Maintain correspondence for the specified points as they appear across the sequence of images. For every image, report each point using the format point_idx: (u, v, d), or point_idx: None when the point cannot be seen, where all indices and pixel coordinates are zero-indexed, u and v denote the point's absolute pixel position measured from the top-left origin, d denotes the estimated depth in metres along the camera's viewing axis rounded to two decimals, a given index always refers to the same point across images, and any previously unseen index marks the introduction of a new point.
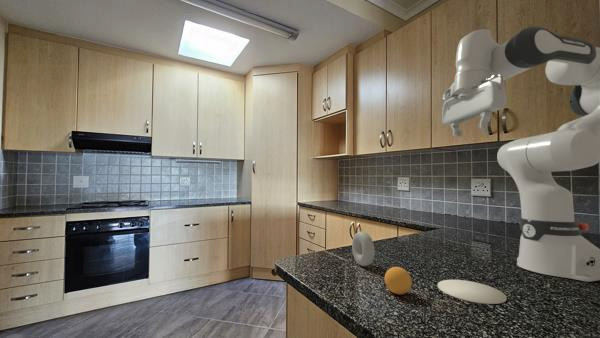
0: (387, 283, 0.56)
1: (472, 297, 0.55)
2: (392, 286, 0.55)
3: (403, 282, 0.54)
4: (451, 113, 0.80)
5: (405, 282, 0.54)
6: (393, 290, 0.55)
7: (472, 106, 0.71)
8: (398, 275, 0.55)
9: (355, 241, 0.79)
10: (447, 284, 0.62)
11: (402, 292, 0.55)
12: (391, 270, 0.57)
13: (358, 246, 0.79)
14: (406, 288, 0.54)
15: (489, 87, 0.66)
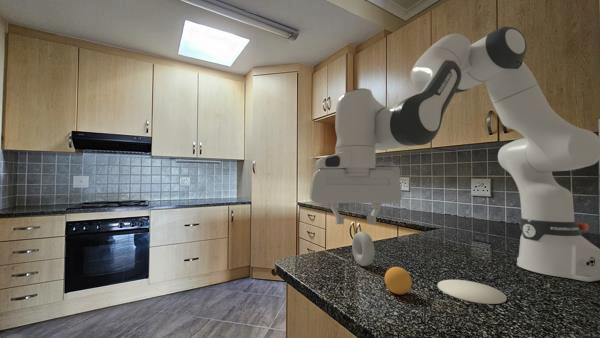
0: (387, 283, 0.56)
1: (472, 297, 0.55)
2: (392, 286, 0.55)
3: (403, 282, 0.54)
4: (333, 191, 0.55)
5: (405, 282, 0.54)
6: (393, 290, 0.55)
7: (371, 193, 0.56)
8: (398, 275, 0.55)
9: (355, 241, 0.79)
10: (447, 284, 0.62)
11: (402, 292, 0.55)
12: (391, 270, 0.57)
13: (358, 246, 0.79)
14: (406, 288, 0.54)
15: (396, 178, 0.57)
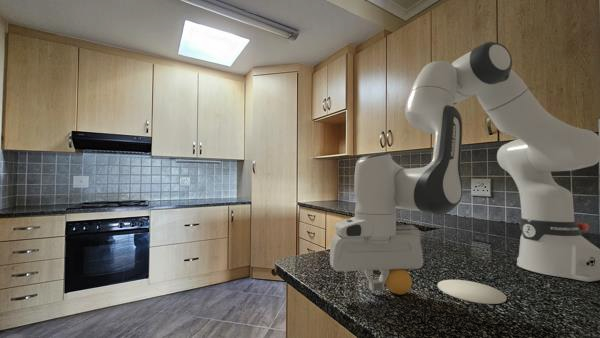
0: (387, 283, 0.56)
1: (472, 297, 0.55)
2: (392, 286, 0.55)
3: (403, 282, 0.54)
4: (355, 259, 0.55)
5: (405, 283, 0.54)
6: (393, 290, 0.55)
7: (393, 260, 0.55)
8: (398, 275, 0.55)
9: None
10: (447, 284, 0.62)
11: (402, 292, 0.55)
12: (391, 270, 0.57)
13: None
14: (406, 288, 0.54)
15: (417, 243, 0.56)
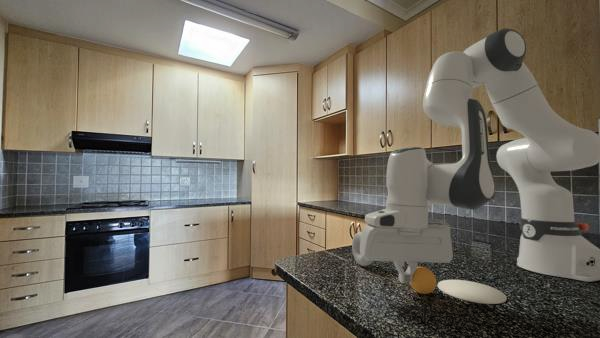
0: (416, 271, 0.57)
1: (472, 297, 0.55)
2: (419, 276, 0.56)
3: (431, 282, 0.55)
4: (386, 250, 0.55)
5: (432, 285, 0.55)
6: (416, 280, 0.56)
7: (423, 252, 0.56)
8: (431, 275, 0.56)
9: (355, 241, 0.79)
10: (447, 284, 0.62)
11: (421, 288, 0.55)
12: (426, 268, 0.57)
13: (358, 246, 0.79)
14: (428, 288, 0.55)
15: (447, 238, 0.57)
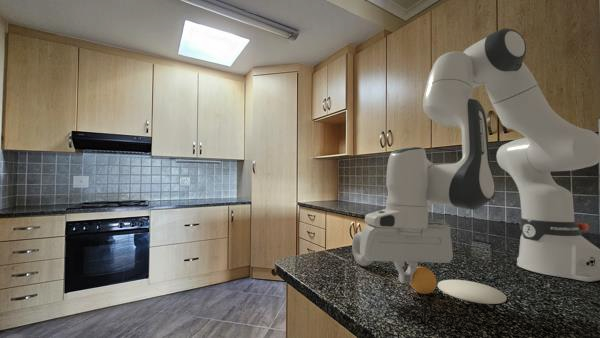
0: (416, 271, 0.57)
1: (472, 297, 0.55)
2: (419, 276, 0.56)
3: (431, 282, 0.55)
4: (386, 250, 0.55)
5: (432, 285, 0.55)
6: (416, 280, 0.56)
7: (423, 252, 0.56)
8: (431, 275, 0.56)
9: (355, 241, 0.79)
10: (447, 284, 0.62)
11: (421, 288, 0.55)
12: (427, 268, 0.57)
13: (358, 246, 0.79)
14: (428, 288, 0.55)
15: (447, 238, 0.57)
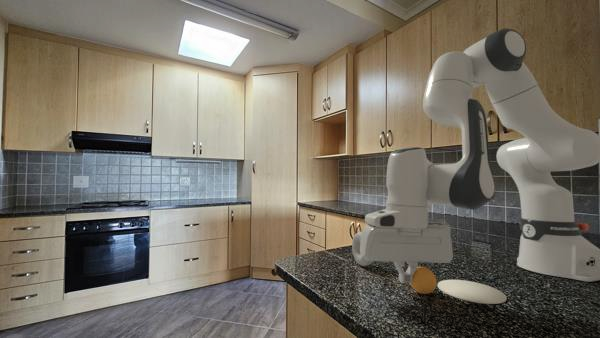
0: (416, 272, 0.57)
1: (472, 297, 0.55)
2: (419, 276, 0.56)
3: (431, 282, 0.55)
4: (386, 250, 0.55)
5: (432, 285, 0.55)
6: (416, 280, 0.56)
7: (423, 252, 0.56)
8: (431, 275, 0.56)
9: (355, 241, 0.79)
10: (447, 284, 0.62)
11: (421, 288, 0.55)
12: (427, 268, 0.57)
13: (358, 246, 0.79)
14: (428, 288, 0.55)
15: (447, 238, 0.57)
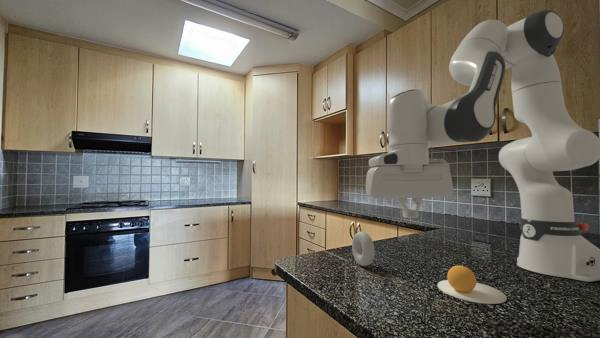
0: None
1: (472, 297, 0.55)
2: (473, 288, 0.57)
3: (468, 284, 0.56)
4: (391, 187, 0.58)
5: (467, 281, 0.56)
6: (475, 285, 0.57)
7: (426, 188, 0.59)
8: (462, 289, 0.56)
9: (355, 241, 0.79)
10: (447, 284, 0.62)
11: (475, 278, 0.56)
12: (457, 290, 0.58)
13: (358, 246, 0.79)
14: (471, 278, 0.56)
15: (447, 174, 0.60)
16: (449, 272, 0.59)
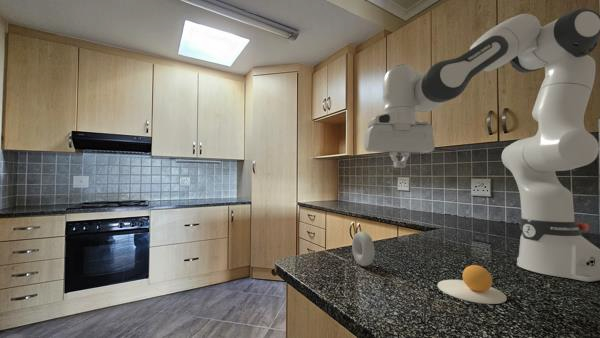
0: (472, 288, 0.58)
1: (472, 297, 0.55)
2: (478, 289, 0.57)
3: (485, 280, 0.56)
4: (384, 141, 0.74)
5: (487, 279, 0.56)
6: (481, 291, 0.57)
7: (412, 143, 0.74)
8: (476, 277, 0.57)
9: (355, 241, 0.79)
10: (447, 284, 0.62)
11: (489, 287, 0.57)
12: (467, 275, 0.58)
13: (358, 246, 0.79)
14: (490, 282, 0.56)
15: (430, 133, 0.75)
16: None
